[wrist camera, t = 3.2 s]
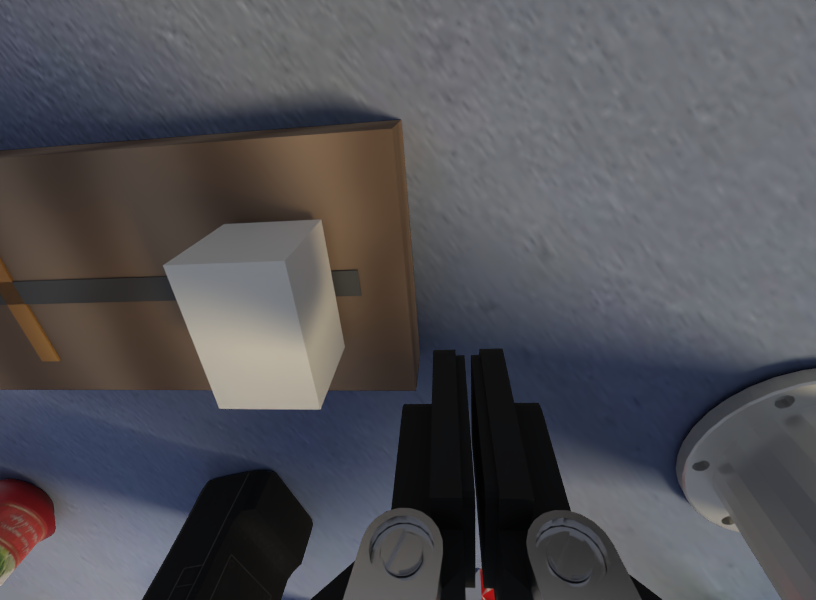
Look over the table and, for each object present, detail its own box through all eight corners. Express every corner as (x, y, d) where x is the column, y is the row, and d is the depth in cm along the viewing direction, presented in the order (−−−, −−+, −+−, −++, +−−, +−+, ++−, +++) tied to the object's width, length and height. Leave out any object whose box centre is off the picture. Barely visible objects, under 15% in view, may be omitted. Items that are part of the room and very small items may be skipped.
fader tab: (321, 219, 16) (284, 260, 13) (344, 347, 19) (320, 409, 15) (224, 223, 17) (162, 265, 13) (261, 347, 19) (219, 408, 16)
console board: (401, 119, 17) (391, 128, 15) (420, 354, 23) (415, 392, 20) (-123, 159, 20) (-210, 173, 18) (8, 357, 26) (-43, 390, 24)
